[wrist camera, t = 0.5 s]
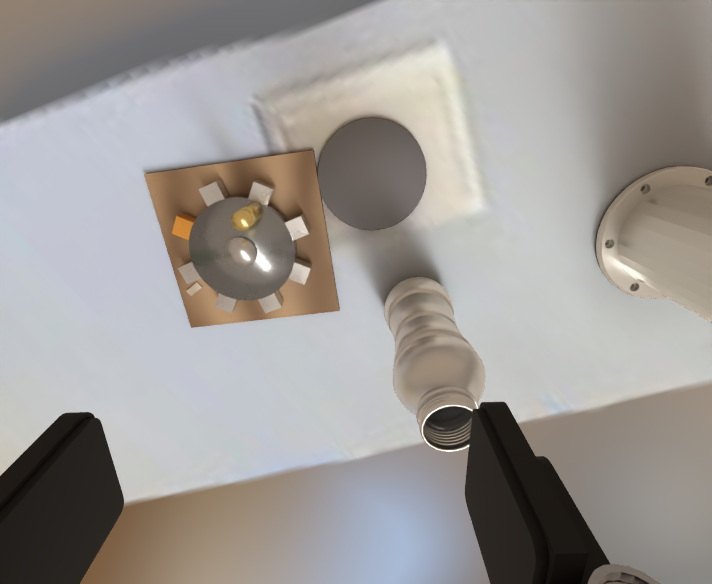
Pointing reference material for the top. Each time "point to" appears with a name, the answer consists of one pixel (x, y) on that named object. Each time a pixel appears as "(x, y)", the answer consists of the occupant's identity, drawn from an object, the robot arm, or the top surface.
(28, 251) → the top surface
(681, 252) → the robot arm
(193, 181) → the base plate
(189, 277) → the sprocket
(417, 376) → the plastic bottle
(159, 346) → the top surface
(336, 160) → the pad
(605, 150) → the top surface
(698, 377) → the top surface
